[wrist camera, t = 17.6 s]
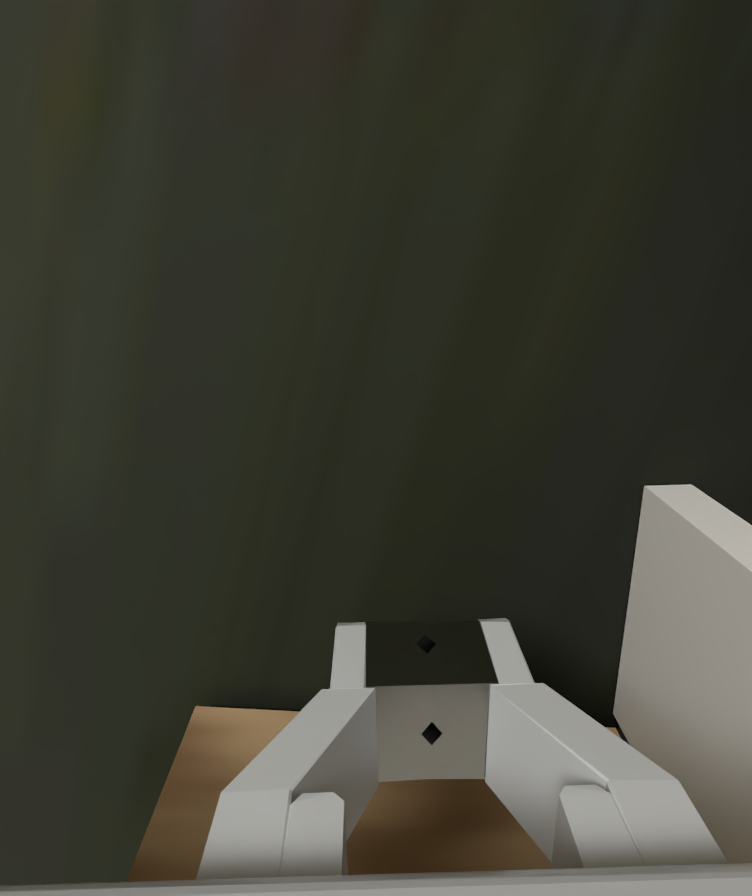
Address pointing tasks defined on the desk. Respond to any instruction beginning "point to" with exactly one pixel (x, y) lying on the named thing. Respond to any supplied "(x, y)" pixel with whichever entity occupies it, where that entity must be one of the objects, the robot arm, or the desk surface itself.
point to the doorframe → (692, 656)
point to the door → (376, 833)
